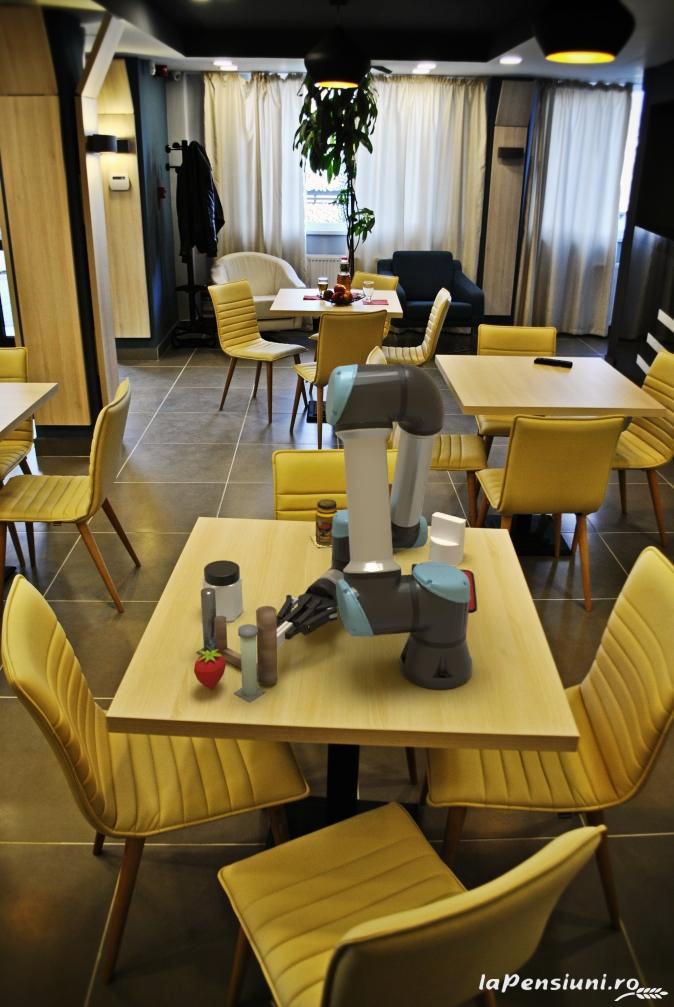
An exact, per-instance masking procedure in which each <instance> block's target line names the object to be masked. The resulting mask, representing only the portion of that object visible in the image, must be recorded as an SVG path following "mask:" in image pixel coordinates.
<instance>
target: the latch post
mask: <svg viewBox="0 0 674 1007" xmlns="http://www.w3.org/2000/svg"><path fill="white" fill-rule="evenodd" d="M257 634H258V628H257V627H256V625H255V624H252V623H251V624H249V623H247V624H242V625H241V626H239V627H238V629H237V635H238V636H239V637H240V638H239V640H240V654H241V668H240V669H241V670H240V671H241V687H240V688H239V689H237V690H236V691H234V692H233V694H234V695H236V696H238V697H239V698H241V699H242V700H245V701H247V703H251V702H253V701H255V700H256V699H257V698H259V697H261V696H262V695H265V693H266V690H264V689H262V688H260V687H259V686H258V677H257Z"/></svg>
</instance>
